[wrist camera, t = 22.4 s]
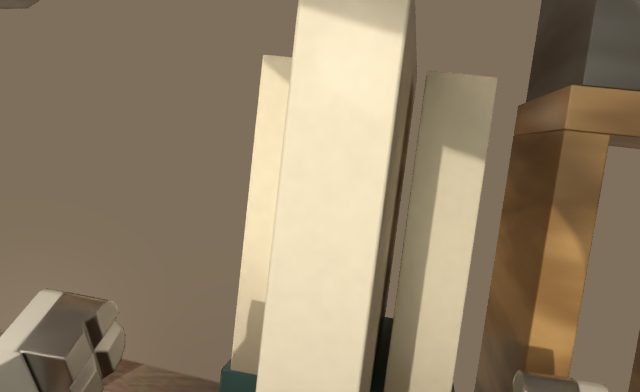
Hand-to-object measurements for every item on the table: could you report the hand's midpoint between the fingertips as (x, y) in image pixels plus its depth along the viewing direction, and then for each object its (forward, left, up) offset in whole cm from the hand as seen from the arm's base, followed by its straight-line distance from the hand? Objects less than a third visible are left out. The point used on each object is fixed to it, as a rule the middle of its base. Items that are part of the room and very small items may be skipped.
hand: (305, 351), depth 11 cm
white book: (0, +11, -5) cm, 12 cm away
